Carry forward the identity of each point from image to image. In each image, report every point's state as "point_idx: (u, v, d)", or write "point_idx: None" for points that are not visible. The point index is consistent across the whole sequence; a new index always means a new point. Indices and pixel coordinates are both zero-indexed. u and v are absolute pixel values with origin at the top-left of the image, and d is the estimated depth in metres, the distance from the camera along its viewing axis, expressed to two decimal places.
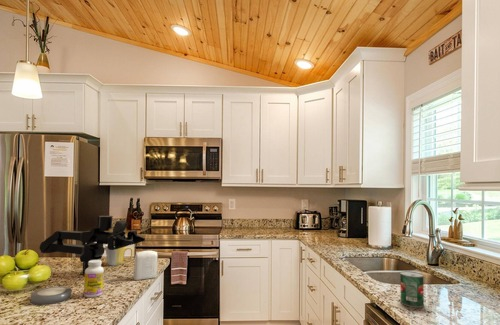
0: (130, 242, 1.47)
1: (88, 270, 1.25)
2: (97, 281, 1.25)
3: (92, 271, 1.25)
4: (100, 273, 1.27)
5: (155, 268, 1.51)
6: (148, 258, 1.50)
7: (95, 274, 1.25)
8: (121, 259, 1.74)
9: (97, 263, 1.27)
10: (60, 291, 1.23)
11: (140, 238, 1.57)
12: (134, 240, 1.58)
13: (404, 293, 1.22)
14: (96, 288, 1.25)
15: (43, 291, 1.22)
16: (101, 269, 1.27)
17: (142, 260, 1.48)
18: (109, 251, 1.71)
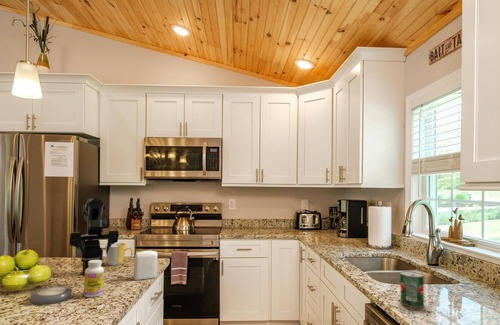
0: (81, 252, 1.34)
1: (88, 270, 1.25)
2: (97, 281, 1.25)
3: (92, 271, 1.25)
4: (100, 273, 1.27)
5: (155, 268, 1.51)
6: (148, 258, 1.50)
7: (95, 274, 1.25)
8: (121, 259, 1.74)
9: (97, 263, 1.27)
10: (60, 291, 1.23)
11: None
12: (107, 243, 1.42)
13: (404, 293, 1.22)
14: (96, 288, 1.25)
15: (43, 291, 1.22)
16: (101, 269, 1.27)
17: (142, 260, 1.48)
18: (109, 251, 1.71)
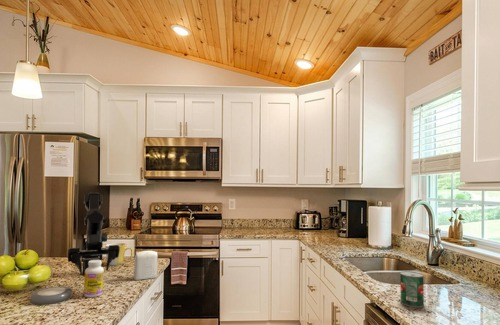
0: (79, 269, 1.27)
1: (88, 270, 1.25)
2: (97, 281, 1.25)
3: (92, 271, 1.25)
4: (100, 273, 1.27)
5: (155, 268, 1.51)
6: (148, 258, 1.50)
7: (95, 274, 1.25)
8: (121, 259, 1.74)
9: (97, 263, 1.27)
10: (60, 291, 1.23)
11: None
12: None
13: (404, 293, 1.22)
14: (96, 287, 1.25)
15: (43, 291, 1.22)
16: (101, 269, 1.27)
17: (142, 260, 1.48)
18: None
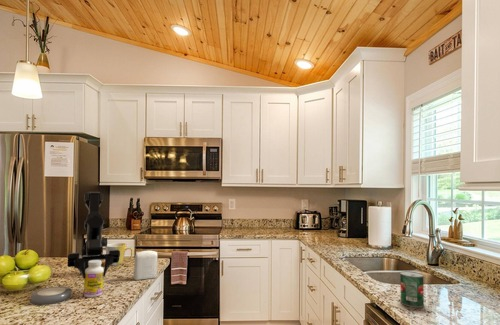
0: (82, 275, 1.25)
1: (88, 270, 1.25)
2: (97, 281, 1.25)
3: (92, 271, 1.25)
4: (100, 273, 1.27)
5: (155, 268, 1.51)
6: (148, 258, 1.50)
7: (95, 274, 1.25)
8: (121, 259, 1.74)
9: (97, 263, 1.27)
10: (60, 291, 1.23)
11: (104, 270, 1.30)
12: None
13: (404, 293, 1.22)
14: (96, 288, 1.25)
15: (43, 291, 1.22)
16: (101, 269, 1.27)
17: (142, 260, 1.48)
18: None
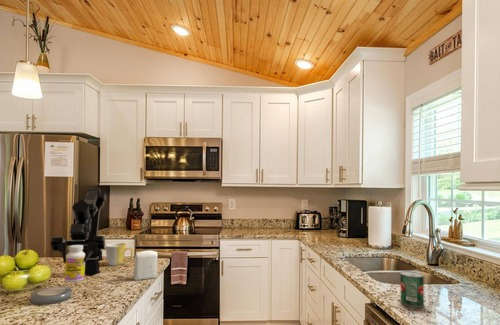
0: (63, 259, 1.24)
1: (68, 255, 1.23)
2: (76, 266, 1.23)
3: (71, 256, 1.22)
4: (80, 258, 1.24)
5: (155, 268, 1.51)
6: (148, 258, 1.50)
7: (73, 259, 1.22)
8: (121, 259, 1.74)
9: (77, 248, 1.24)
10: (60, 291, 1.23)
11: None
12: None
13: (404, 293, 1.22)
14: (75, 273, 1.22)
15: (43, 291, 1.22)
16: (81, 254, 1.24)
17: (142, 260, 1.48)
18: (109, 251, 1.71)
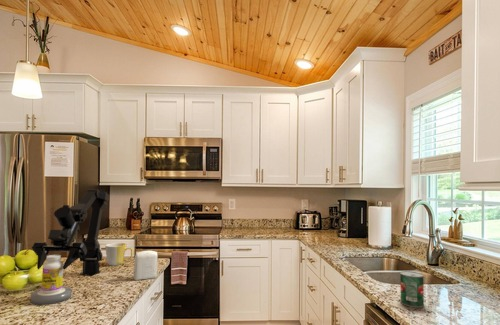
0: None
1: (44, 265, 1.22)
2: (50, 277, 1.20)
3: (46, 266, 1.20)
4: (55, 269, 1.21)
5: (155, 268, 1.51)
6: (148, 258, 1.50)
7: (48, 269, 1.20)
8: (121, 259, 1.74)
9: (52, 258, 1.22)
10: (60, 291, 1.23)
11: None
12: None
13: (404, 293, 1.22)
14: (49, 284, 1.20)
15: None
16: (57, 265, 1.22)
17: (142, 260, 1.48)
18: (109, 251, 1.71)
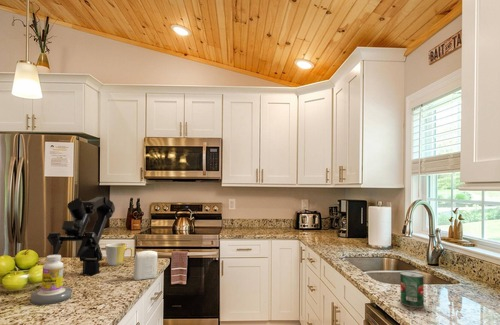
0: None
1: (44, 265, 1.22)
2: (50, 277, 1.20)
3: (46, 266, 1.20)
4: (55, 269, 1.21)
5: (155, 268, 1.51)
6: (148, 258, 1.50)
7: (48, 269, 1.20)
8: (121, 259, 1.74)
9: (52, 258, 1.22)
10: (60, 291, 1.23)
11: None
12: None
13: (404, 293, 1.22)
14: (49, 284, 1.20)
15: None
16: (57, 265, 1.22)
17: (142, 260, 1.48)
18: (109, 251, 1.71)
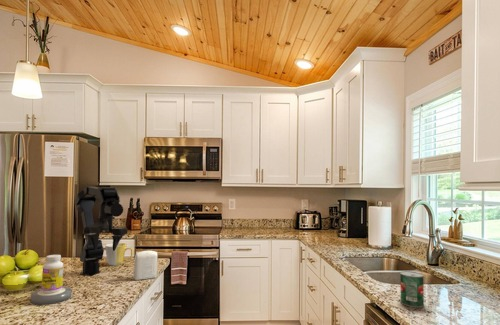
0: None
1: (44, 265, 1.22)
2: (50, 277, 1.20)
3: (46, 266, 1.20)
4: (55, 269, 1.21)
5: (155, 268, 1.51)
6: (148, 258, 1.50)
7: (48, 269, 1.20)
8: (121, 259, 1.74)
9: (52, 258, 1.22)
10: (60, 291, 1.23)
11: None
12: None
13: (404, 293, 1.22)
14: (49, 284, 1.20)
15: None
16: (57, 265, 1.22)
17: (142, 260, 1.48)
18: (109, 251, 1.71)
